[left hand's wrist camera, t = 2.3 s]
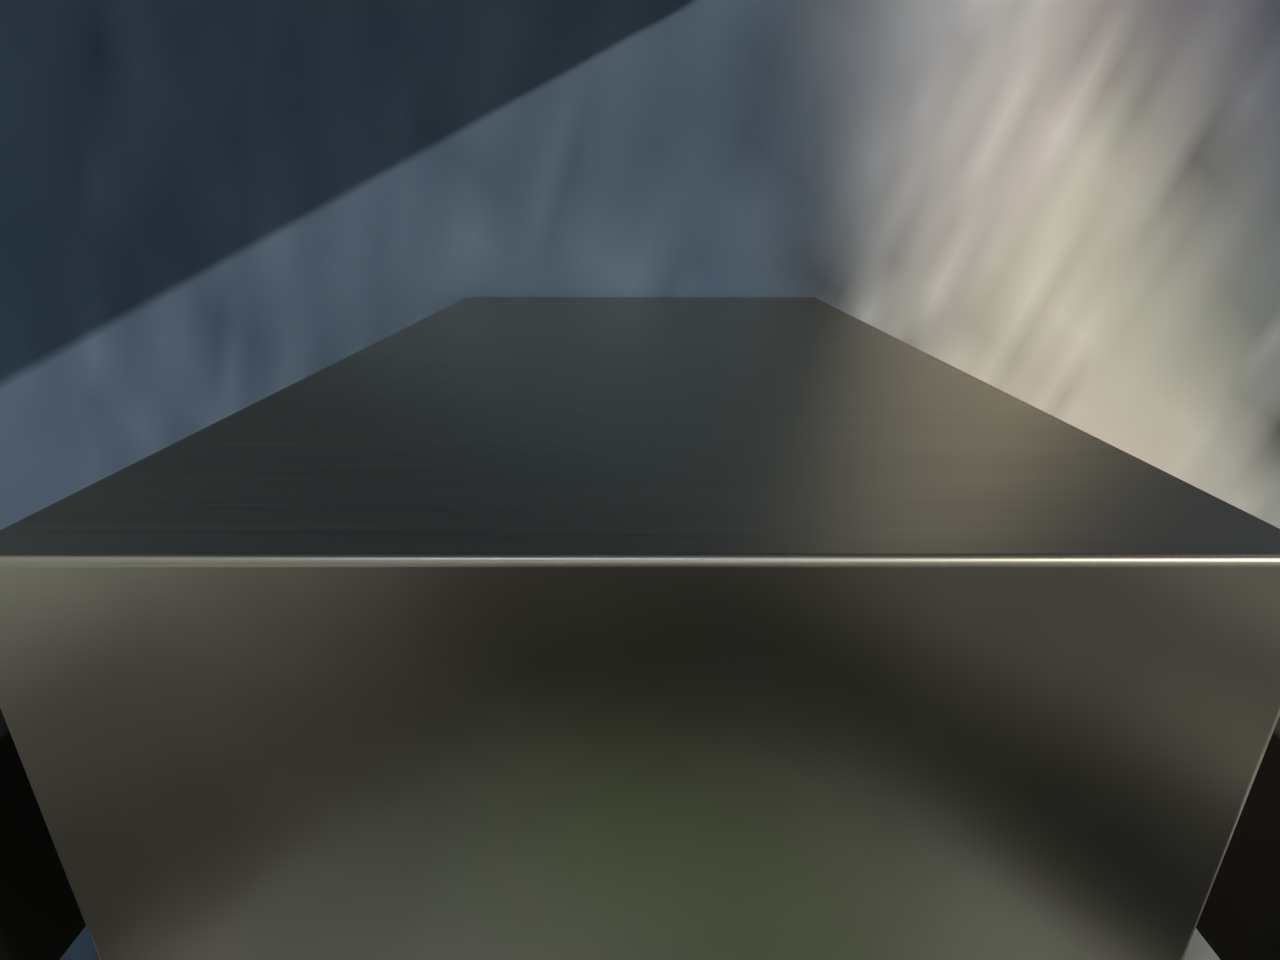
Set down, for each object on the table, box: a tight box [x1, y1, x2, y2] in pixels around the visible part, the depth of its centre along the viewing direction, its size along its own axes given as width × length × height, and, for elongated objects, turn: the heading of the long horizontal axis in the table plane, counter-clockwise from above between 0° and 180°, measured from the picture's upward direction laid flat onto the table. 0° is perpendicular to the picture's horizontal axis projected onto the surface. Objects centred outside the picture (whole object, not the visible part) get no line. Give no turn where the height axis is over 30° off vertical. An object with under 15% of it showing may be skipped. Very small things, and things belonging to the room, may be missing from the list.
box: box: [0, 298, 1280, 960], centre depth 14 cm, size 22×8×13 cm, turn 0°
